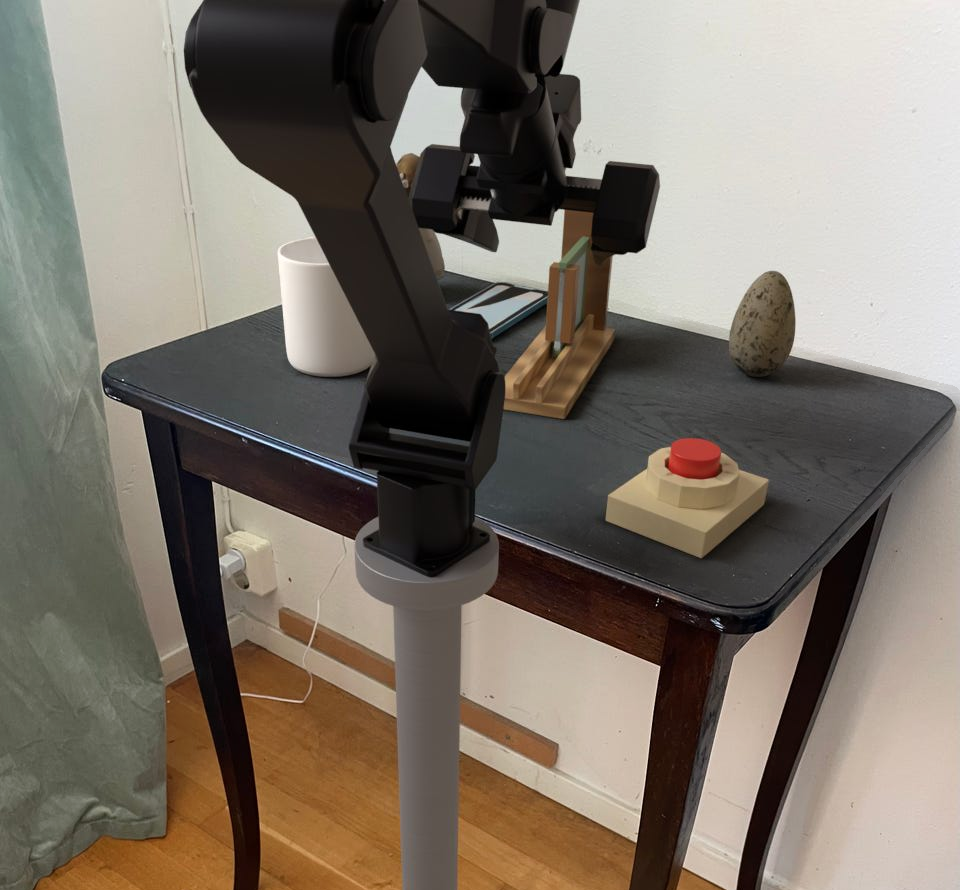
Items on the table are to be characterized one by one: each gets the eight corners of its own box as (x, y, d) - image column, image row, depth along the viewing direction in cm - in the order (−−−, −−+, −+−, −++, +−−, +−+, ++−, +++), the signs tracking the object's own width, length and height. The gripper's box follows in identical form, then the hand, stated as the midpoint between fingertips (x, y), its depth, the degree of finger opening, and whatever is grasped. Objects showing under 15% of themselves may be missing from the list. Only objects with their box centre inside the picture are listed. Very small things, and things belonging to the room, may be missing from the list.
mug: (412, 345, 103) (410, 237, 97) (342, 386, 94) (336, 270, 88) (342, 329, 107) (336, 223, 100) (269, 367, 98) (257, 253, 92)
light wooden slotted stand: (564, 419, 90) (575, 271, 82) (488, 407, 91) (493, 261, 84) (614, 340, 106) (627, 209, 98) (549, 331, 107) (557, 202, 100)
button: (702, 487, 73) (706, 465, 72) (658, 471, 74) (661, 449, 73) (726, 469, 75) (730, 447, 74) (683, 454, 77) (686, 433, 76)
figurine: (411, 280, 120) (409, 143, 111) (456, 293, 117) (458, 153, 108) (364, 297, 115) (358, 154, 106) (409, 311, 111) (407, 165, 103)
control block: (701, 559, 72) (710, 509, 69) (604, 521, 76) (610, 472, 73) (764, 505, 78) (774, 458, 76) (672, 472, 82) (679, 427, 80)
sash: (569, 359, 97) (576, 264, 92) (543, 355, 98) (549, 260, 93) (591, 327, 104) (598, 237, 99) (567, 324, 105) (573, 235, 100)
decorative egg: (730, 386, 96) (748, 281, 91) (717, 362, 101) (734, 261, 96) (793, 387, 97) (815, 282, 91) (777, 363, 101) (797, 262, 96)
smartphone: (426, 321, 107) (498, 280, 117) (426, 330, 107) (498, 288, 118) (487, 335, 104) (555, 292, 114) (487, 344, 104) (555, 300, 115)
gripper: (672, 44, 70) (677, 178, 85) (419, 28, 75) (466, 157, 90) (637, 190, 69) (649, 300, 84) (380, 164, 73) (435, 273, 88)
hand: (547, 253), depth 86 cm, fingers open, 9 cm apart
